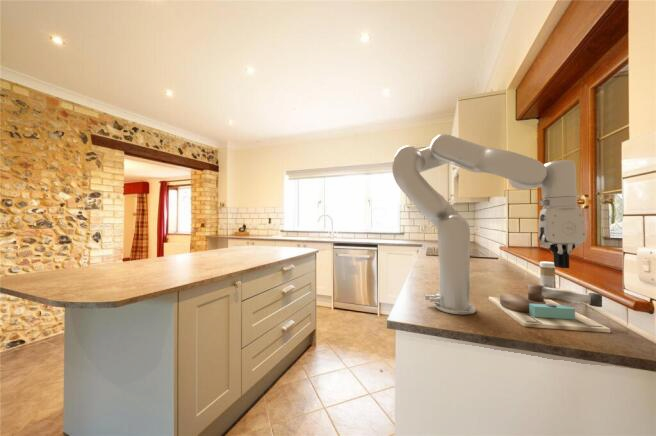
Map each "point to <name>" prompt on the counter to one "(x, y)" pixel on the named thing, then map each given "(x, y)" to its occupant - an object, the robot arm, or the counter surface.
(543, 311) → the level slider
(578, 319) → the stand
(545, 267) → the sprinkles bottle
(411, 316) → the counter surface
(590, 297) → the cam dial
